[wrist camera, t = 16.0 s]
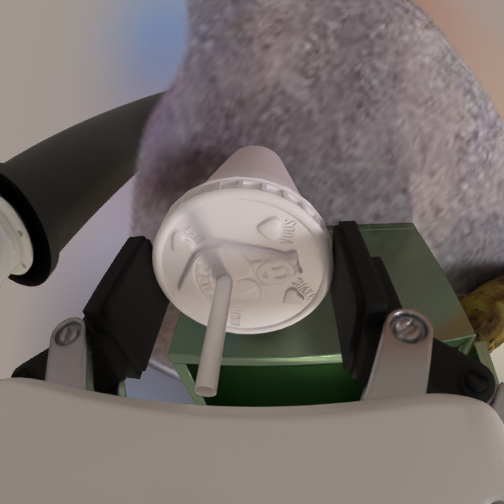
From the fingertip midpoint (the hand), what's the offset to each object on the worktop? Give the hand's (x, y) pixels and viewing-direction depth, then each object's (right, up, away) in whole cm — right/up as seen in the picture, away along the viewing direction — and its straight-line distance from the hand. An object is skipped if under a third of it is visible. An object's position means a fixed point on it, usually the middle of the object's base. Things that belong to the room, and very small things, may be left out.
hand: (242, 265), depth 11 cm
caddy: (+6, -3, +16) cm, 18 cm away
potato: (+25, -3, +14) cm, 29 cm away
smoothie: (+1, +5, +8) cm, 9 cm away
